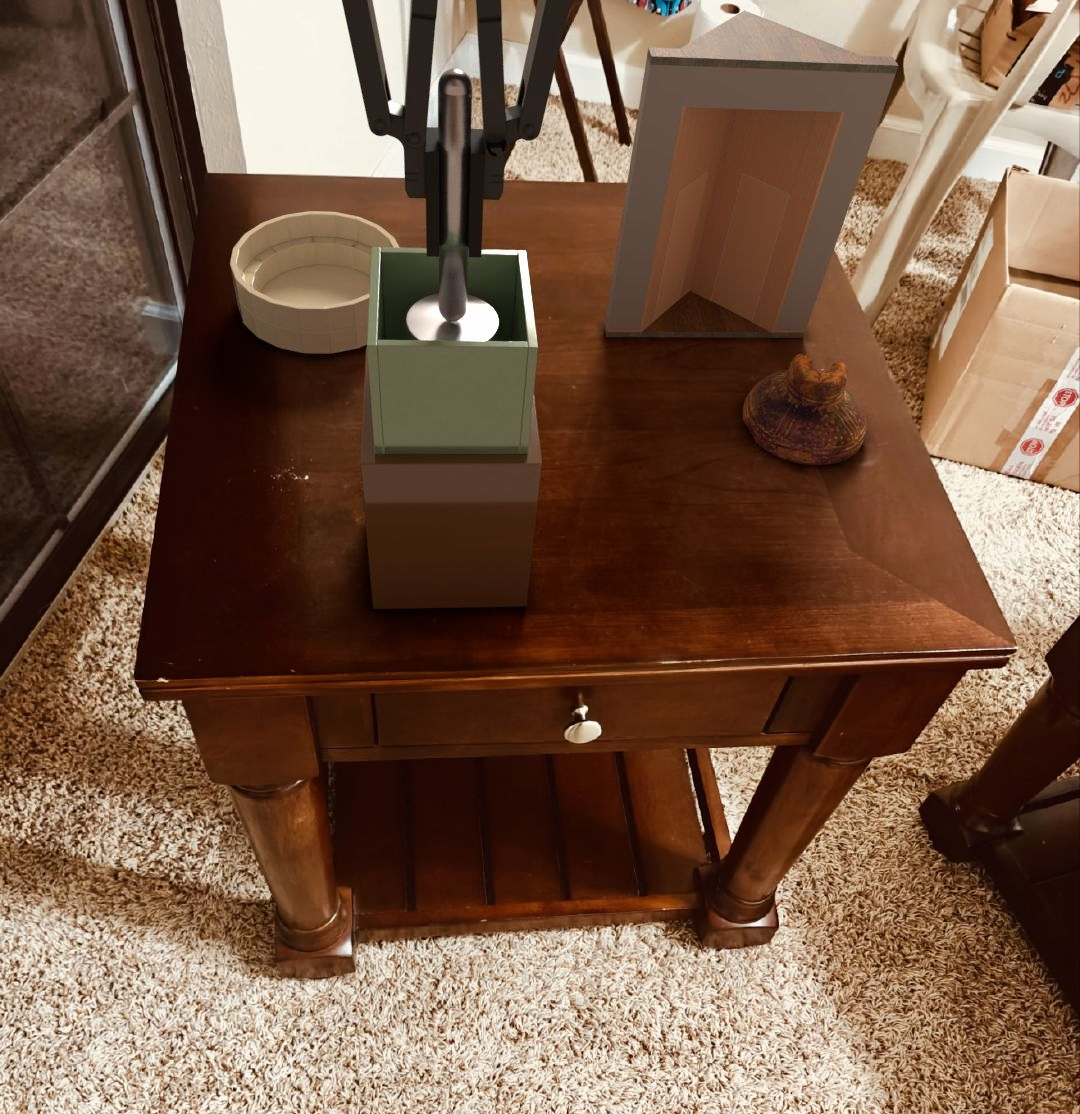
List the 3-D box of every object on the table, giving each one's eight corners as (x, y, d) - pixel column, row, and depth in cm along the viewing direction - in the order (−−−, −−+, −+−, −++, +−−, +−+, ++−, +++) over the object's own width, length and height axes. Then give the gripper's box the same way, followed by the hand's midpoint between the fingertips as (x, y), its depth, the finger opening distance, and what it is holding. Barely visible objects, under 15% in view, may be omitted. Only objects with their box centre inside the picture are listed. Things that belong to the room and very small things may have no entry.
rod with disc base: (406, 386, 64) (396, 95, 49) (407, 327, 68) (397, 41, 53) (499, 386, 65) (516, 99, 50) (494, 329, 68) (509, 46, 54)
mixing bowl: (231, 359, 94) (220, 307, 90) (249, 260, 105) (240, 208, 100) (403, 361, 96) (401, 310, 92) (404, 263, 106) (402, 213, 102)
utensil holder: (372, 609, 77) (350, 355, 58) (376, 496, 85) (358, 238, 65) (526, 606, 78) (554, 357, 59) (516, 495, 86) (538, 242, 67)
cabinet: (606, 336, 101) (651, 56, 79) (594, 280, 107) (633, 5, 86) (803, 337, 104) (898, 65, 82) (780, 282, 110) (863, 15, 88)
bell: (718, 429, 93) (736, 368, 88) (778, 368, 100) (798, 308, 94) (828, 488, 89) (854, 429, 84) (883, 421, 96) (911, 362, 90)
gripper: (621, -260, 45) (569, 212, 63) (284, -286, 43) (331, 206, 61) (645, -213, 40) (582, 283, 58) (268, -241, 38) (324, 278, 56)
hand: (453, 243), depth 60 cm, fingers closed on rod with disc base, 2 cm apart
